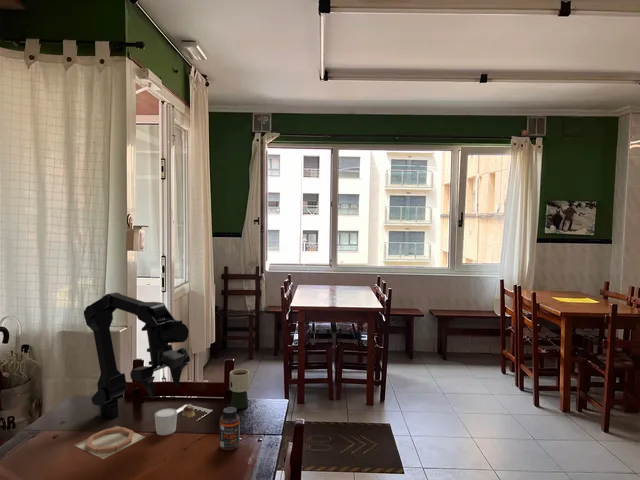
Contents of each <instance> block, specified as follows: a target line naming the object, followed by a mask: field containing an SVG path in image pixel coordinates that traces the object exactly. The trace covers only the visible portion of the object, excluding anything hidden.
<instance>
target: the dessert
mask: <svg viewBox="0 0 640 480" xmlns="http://www.w3.org/2000/svg"><path fill="white" fill-rule="evenodd" d="M195 409H197V410H196V411H199V410H201V411H200V412H204V411H205V412H204V413H205V414H204V416H203V415H201V416H200V417H201V418H200V417H199V418H197V419H198V420H197V419H196V421H199V420H201V419H202V418H204V417H206V416H207V415H209V414H210V413H211V412H213V411H214V410H213V409H209V408H204V407H200V406H196V405H192V404H191V403H188V404H187V403H186V404H184V405H182V406H180V407H179V408H177V409H176V410H177V414H179V413H180V412H181V411H182V414H181V416H182V417H185V418H189V419H191V417H192V418H194V417H196V413H195ZM206 413H207V414H206ZM193 416H194V417H193Z"/></svg>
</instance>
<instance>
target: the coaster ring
mask: <svg viewBox="0 0 640 480" xmlns="http://www.w3.org/2000/svg"><path fill="white" fill-rule="evenodd" d="M119 427H120V428H113V427H110V428H106V429H103V430H101V431H98V432H96V433H94V434H92V435H90V436H89V437H88V438H87V439H88V441H87V443H86V449H88V450H91V451H93V452H95V453H96V452H97V453H102V452H110V451H115V450H118V449H120V448H122V447H124V446H126V445H128V444H130V443H131V442H132V439H133V436H134V433H135V432H134V430H132V429H129V428H127V427H122V426H119ZM118 432H122V433H124V434H127V435H129V436H128V439H127V440H125V441H123V442H121V443H119V444H117V445H115V446H106V447H97V446H95V445H93V444H92V443H93V441H94V439H96V438H99V437H101V436H103V435H105V434H109V433H118Z"/></svg>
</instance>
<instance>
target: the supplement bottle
mask: <svg viewBox="0 0 640 480" xmlns="http://www.w3.org/2000/svg"><path fill="white" fill-rule="evenodd" d="M237 410H238V409H236V408H234V407H231V406H228V407H225V408H224V409H223V411H222V415H221V417H220V418H219V435H218V436H219V439H218V440H219V443H218V444H219V448H220V449H221V450H223V451H226V452H228V451H233V450H236V449H237V448H238V447H240V430H241V429H240V426H241V425H240V424H241V422H240V421H241V420H240V416H239V414H237Z"/></svg>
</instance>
